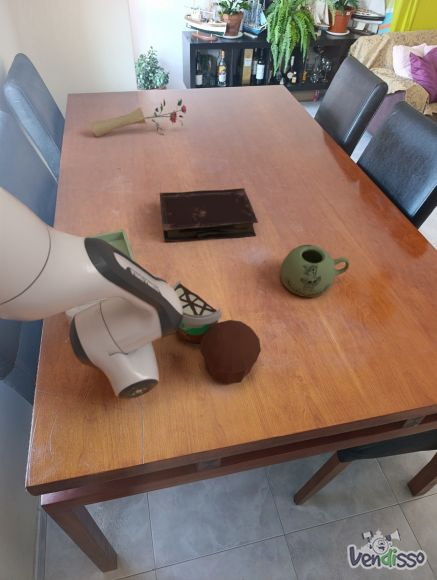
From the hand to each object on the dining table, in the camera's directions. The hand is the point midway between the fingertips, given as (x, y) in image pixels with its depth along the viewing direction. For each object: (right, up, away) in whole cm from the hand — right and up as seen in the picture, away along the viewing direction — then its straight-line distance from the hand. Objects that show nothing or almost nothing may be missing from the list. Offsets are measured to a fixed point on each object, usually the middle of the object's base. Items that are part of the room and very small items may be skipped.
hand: (108, 274), depth 82 cm
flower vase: (-5, +56, +61) cm, 84 cm away
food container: (+18, -13, -2) cm, 22 cm away
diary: (+21, +16, +25) cm, 36 cm away
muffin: (+26, -18, -7) cm, 33 cm away
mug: (+47, -1, +10) cm, 48 cm away
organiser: (-2, 0, +8) cm, 8 cm away
